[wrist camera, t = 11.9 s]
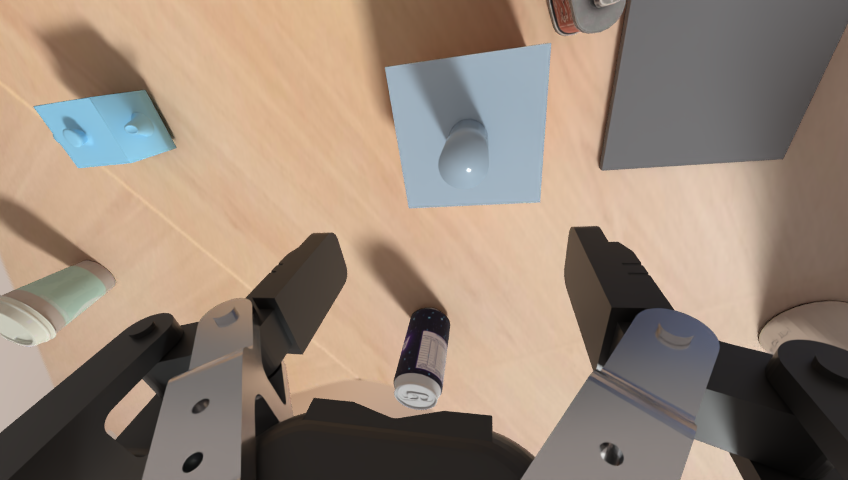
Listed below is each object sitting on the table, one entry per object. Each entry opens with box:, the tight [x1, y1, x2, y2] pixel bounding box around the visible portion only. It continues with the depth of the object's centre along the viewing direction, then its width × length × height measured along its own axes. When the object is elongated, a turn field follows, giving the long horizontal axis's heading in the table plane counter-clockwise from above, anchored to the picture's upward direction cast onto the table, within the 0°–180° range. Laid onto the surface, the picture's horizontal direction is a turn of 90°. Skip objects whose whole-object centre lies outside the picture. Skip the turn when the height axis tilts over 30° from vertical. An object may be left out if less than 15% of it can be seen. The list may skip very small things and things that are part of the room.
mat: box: [599, 0, 848, 170], centre depth 24 cm, size 14×14×1 cm
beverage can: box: [394, 308, 450, 410], centre depth 39 cm, size 6×6×12 cm
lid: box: [385, 43, 551, 208], centre depth 21 cm, size 11×11×7 cm
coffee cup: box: [0, 260, 116, 347], centre depth 47 cm, size 9×8×12 cm
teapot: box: [34, 90, 176, 168], centre depth 32 cm, size 12×6×8 cm, turn 98°
